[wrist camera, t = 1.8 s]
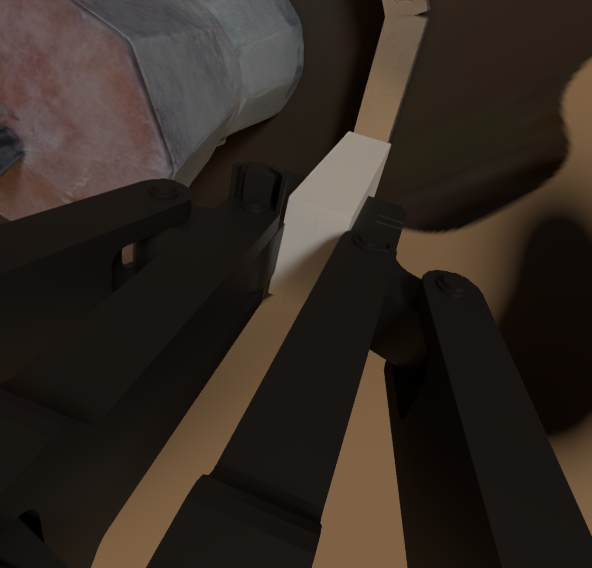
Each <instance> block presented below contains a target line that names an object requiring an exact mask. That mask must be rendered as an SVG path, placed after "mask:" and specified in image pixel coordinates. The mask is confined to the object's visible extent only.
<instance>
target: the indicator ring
mask: <svg viewBox="0 0 592 568" xmlns="http://www.w3.org/2000/svg"><path fill="white" fill-rule="evenodd" d="M382 2H383V7H384V13H385V20H384V23H383V27H382V31H381V34H380V38H379V42H378V45H377V49H376V53H375V56H374V60H373V64H372V67H371V71H370V74H369V78H368V82H367V85H366V89H365V93H364V96H363V100H362V104H361V107H360V111H359V115H358V118H357V122H356V126H355V129H354V133H356V134H360V135H363V136H366V137H369V138H373V139H376V140H379V141H383V142H386V143H389V142H390V139H391V136H392V133H393V130H394V127H395V124H396V121H397V118H398V114H399V111H400V108H401V105H402V102H403V99H404V96H405V93H406V90H407V86H408V83H409V80H410V77H411V74H412V71H413V68H414V65H415V62H416V59H417V55H418V52H419V49H420V46H421V43H422V40H423V37H424V34H425V31H426V27H427V24H428V21H429V18H430V17H426V16H422V15H419V13H422V12H425V11H428V10H430V4H429V0H382Z"/></svg>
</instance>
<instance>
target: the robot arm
mask: <svg viewBox="0 0 592 568" xmlns="http://www.w3.org/2000/svg"><path fill="white" fill-rule="evenodd" d="M390 146H391V144H389V143H386V142H383V141H379V140H376V139H373V138H369V137H366V136H363V135H360V134H356V133H353V132H350V131H349V132H348V133H347V134H346V135H345V136H344V137H343V138H342V139H341V140H340V142H339V143H338V144H337V145H336V146H335V147H334V148H333V149H332V150H331V151H330V152H329V154H328V155H327V156H326V157H325V158H324V159H323V160H322V161H321V162H320V163H319V165H318V166H317V167H316V168H315V169H314V170H313V171H312V172H311V173H310V174H309V175H308V177H304V176H301V175H298V174H295V173H292V172H289V171H285V172H282V171H281V170H280V169H278V168H275V167H273V166H270V165H267V164H263V163H258V162H239V163H236V164H234V165H233V169H232V176H231V183H230V191H229V197H228V198H227V199H226V200H225V201H224V202H222V203H221V204H220V205H219V206H218V207H216V208H210V207H204V206H198V205H192V199H193V193H192V191H191V189H190V188H188V187H187V186H185V185H184V184H181V183H178V182H176V181H175V180H171V179H169V180H168V179H165V178H161V179H150V180H144V181H140V182H137V183H134V184H131V185H127V186H124V187H121V188H117V189H114V190H111V191H108V192H104V193H101V194H98V195H95V196H91V197H88V198H85V199H82V200H78V201H75V202H72V203H69V204H65V205H62V206H59V207H55V208H52V209H49V210H46V211H42V212H39V213H36V214H33V215H29V216H26V217H23V218H20V219H16V220H13V221H10V222H6V223H3V224H0V568H91V566H92V563H93V561H94V558H95V555H96V552H97V549H98V546H99V545H100V543H101V540H102V538H103V537H104V535H105V533H106V532H107V530H108V528H109V527H110V525H111V524H112V522H113V521H114V520H115V518H116V516H117V515H118V514H119V512H120V511H121V509H122V508H123V506H124V505H125V503H126V502H127V500H128V499H129V497H130V496H131V494H132V493H133V491H134V490H135V488H136V487H137V486H138V484H139V483H140V481H141V480H142V478H143V477H144V475H145V474H146V472H147V471H148V469H149V468H150V466H151V465H152V463H153V462H154V460H155V459H156V458H157V456H158V454H159V453H160V452H161V450H162V449H163V447H164V446H165V444H166V443H167V441H168V440H169V438H170V437H171V435H172V434H173V432H174V431H175V430H176V428H177V427H178V425H179V423H180V422H181V421H182V419H183V417H184V416H185V415H186V413H187V411H188V410H189V409H190V407H191V406H192V404H193V403H194V401H195V400H196V398H197V397H198V396H199V394H200V393H201V391H202V390H203V388H204V387H205V385H206V384H207V382H208V381H209V379H210V378H211V376H212V375H213V373H214V372H215V370H216V369H217V368H218V366H219V365H220V363H221V362H222V360H223V359H224V357H225V356H226V354H227V353H228V351H229V350H230V348H231V347H232V345H233V344H234V342H235V341H236V339H237V338H238V337H239V335H240V333H241V332H242V331H243V329H244V328H245V326H246V325H247V323H248V322H249V320H250V319H251V317H252V316H253V314H254V313H255V311H256V310H257V308H258V307H259V306H260V304H261V303H262V299H263V295H264V290H265V286H266V284H267V283H268V281H269V280H270V279H271V283H270V288H269V292H268V293H271V294H273V295H276V296H279V297H282V298H285V299H288V300H290V301H293V302H295V303H298V304H301V305H303V307H302V309H301V310H300V312H299V314H298V316H297V318H296V320H295V321H294V323H293V325H292V327H291V329H290V331H289V332H288V334H287V336H286V338H285V340H284V342H283V344H282V345H281V347H280V349H279V351H278V353H277V355H276V356H275V358H274V360H273V362H272V364H271V365H270V368H269V369H268V371H267V373H266V375H265V376H264V378H263V380H262V382H261V384H260V386H259V388H258V389H257V391H256V393H255V395H254V397H253V398H252V400H251V402H250V404H249V406H248V408H247V410H246V411H245V413H244V415H243V417H242V419H241V420H240V422H239V424H238V426H237V428H236V430H235V432H234V433H233V435H232V437H231V439H230V441H229V442H228V444H227V446H226V448H225V450H224V451H223V453H222V455H221V457H220V459H219V461H218V463H217V464H216V466H215V467H214V469H213V471H212V472H211V473H210V474H209V475H204V474H203V475H202V476H201V477H200V478H199V479H198V480H197V481H196V483H195V484H194V486H193V488H192V489H191V491H190V492H189V494H188V495H187V497H186V499H185V500H184V502H183V504H182V506H181V508H180V509H179V511H178V513H177V514H176V516H175V518H174V520H173V521H172V523H171V525H170V527H169V528H168V530H167V532H166V534H165V535H164V537H163V539H162V541H161V542H160V544H159V546H158V548H157V549H156V551H155V553H154V555H153V556H152V558H151V560H150V562H149V563H148V565H147V567H146V568H312V564H313V561H314V557H315V553H316V550H317V545H318V542H319V538H320V533H321V528H322V525H321V524H320V521H321V516H322V512H323V509H324V505H325V502H326V499H327V495H328V492H329V488H330V485H331V481H332V477H333V474H334V471H335V467H336V464H337V460H338V456H339V453H340V450H341V446H342V443H343V439H344V436H345V432H346V429H347V425H348V422H349V418H350V415H351V411H352V408H353V404H354V401H355V397H356V394H357V390H358V387H359V383H360V380H361V377H362V373H363V370H364V366H365V362H366V359H367V356H368V352H369V349H370V350H371V351H373V352H375V353H376V354H378V355H379V356H381V357H382V358H384V359H386V362H385V367H384V374H385V383H386V391H387V399H388V408H389V416H390V425H391V433H392V441H393V450H394V458H395V467H396V475H397V483H398V491H399V500H400V507H401V516H402V524H403V533H404V541H405V550H406V559H407V567H408V568H592V536H591V534H590V531H589V529H588V527H587V524H586V523H585V520H584V518H583V516H582V513H581V511H580V509H579V507H578V504H577V502H576V500H575V498H574V496H573V493H572V491H571V489H570V487H569V484H568V482H567V480H566V478H565V476H564V474H563V471H562V469H561V467H560V464H559V463H558V460H557V458H556V456H555V453H554V451H553V449H552V447H551V445H550V442H549V441H548V438H547V436H546V433H545V431H544V429H543V427H542V425H541V422H540V420H539V418H538V416H537V414H536V411H535V409H534V407H533V405H532V403H531V400H530V398H529V396H528V393H527V391H526V389H525V387H524V385H523V382H522V380H521V378H520V376H519V373H518V371H517V369H516V367H515V365H514V362H513V360H512V358H511V356H510V354H509V351H508V349H507V347H506V345H505V343H504V340H503V338H502V336H501V334H500V332H499V329H498V327H497V325H496V323H495V320H494V318H493V316H492V314H491V311H490V309H489V307H488V305H487V303H486V300H485V298H484V296H483V294H482V292H481V291H480V290H479V288H478V287H477V286H476V285H474V284H473V283H472V282H470V281H469V280H468V279H467V278H465V277H462V276H461V275H459V274H457V273H451V272H448V271H440V270H433V271H428V272H427V273H425V274H424V275H423V277H422V279H420V278H418V277H416V276H414V275H412V274H411V273H409V272H407V271H406V270H405V269H404V268H402V266H401V265H400V264H399V263H398V262H397V260H396V255H397V251H396V248H397V245H398V241H399V238H400V234H401V231H402V227H403V224H404V221H405V217H406V214H405V212H404V210H403V209H402V207H401V206H399V205H396V204H393V203H390V202H387V201H384V200H380V199H377V198H374V195H375V192H376V189H377V186H378V183H379V180H380V177H381V174H382V171H383V168H384V165H385V162H386V159H387V155H388V152H389V149H390ZM130 244H133V261H131V262H129V263H127V264H123V262H122V249H123V248H124V247H126V246H128V245H130ZM271 277H272V278H271Z"/></svg>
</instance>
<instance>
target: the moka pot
mask: <svg viewBox="0 0 592 568" xmlns="http://www.w3.org/2000/svg"><path fill="white" fill-rule="evenodd" d="M303 49H304V43H303V31H302V26H301V21H300V19H299V17H298V15H297V13H296V11H295V10H294V8H293V7H292V5H291V3H290V1H289V0H0V215H2V216H4V217H5V218H7V219H8V220H10V221H13V220H16V219H20V218H23V217H26V216H29V215H33V214H36V213H39V212H42V211H46V210H49V209H52V208H55V207H59V206H62V205H65V204H69V203H72V202H75V201H78V200H82V199H85V198H88V197H91V196H95V195H98V194H101V193H104V192H108V191H111V190H114V189H117V188H121V187H124V186H127V185H131V184H134V183H137V182H140V181H144V180H150V179H161V178H165V179H168V180H169V179H171V180H175V181H176V182H178V183H181V184H184V185H185V186H187V187H188V188H189V186H190V184H191V183H192V181H193V180H194V179H195V177H196V176H197V175H198V174H199V172H200V171H201V170H202V168H203V167H204V166H205V164H206V163H207V162H208V161H209V159H210V157H211V156H212V154H213V152H214V150H215V148H216V147H217V146H220V145H223V144H224V143H225V142H226V137H227V136H229V135H230V134H232V133H234V132H237V131H239V130H242V129H244V128H247V127H249V126H251V125H253V124H256V123H259V122H261V121H263V120H266V119H268V118H271V117H273V116H274V115H276V114H278V113H279V112H280V111H281V110H282V108H283V107H284V106H285V104H286V103H287V101H288V100H289V98H290V97H291V95H292V94H293V92H294V90H295V88H296V86H297V84H298V82H299V81H300V79H301V77H302V71H303ZM131 261H133V244H130V245H128V246H126V247H124V248H123V249H122V262H123V264H127V263H129V262H131Z"/></svg>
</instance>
